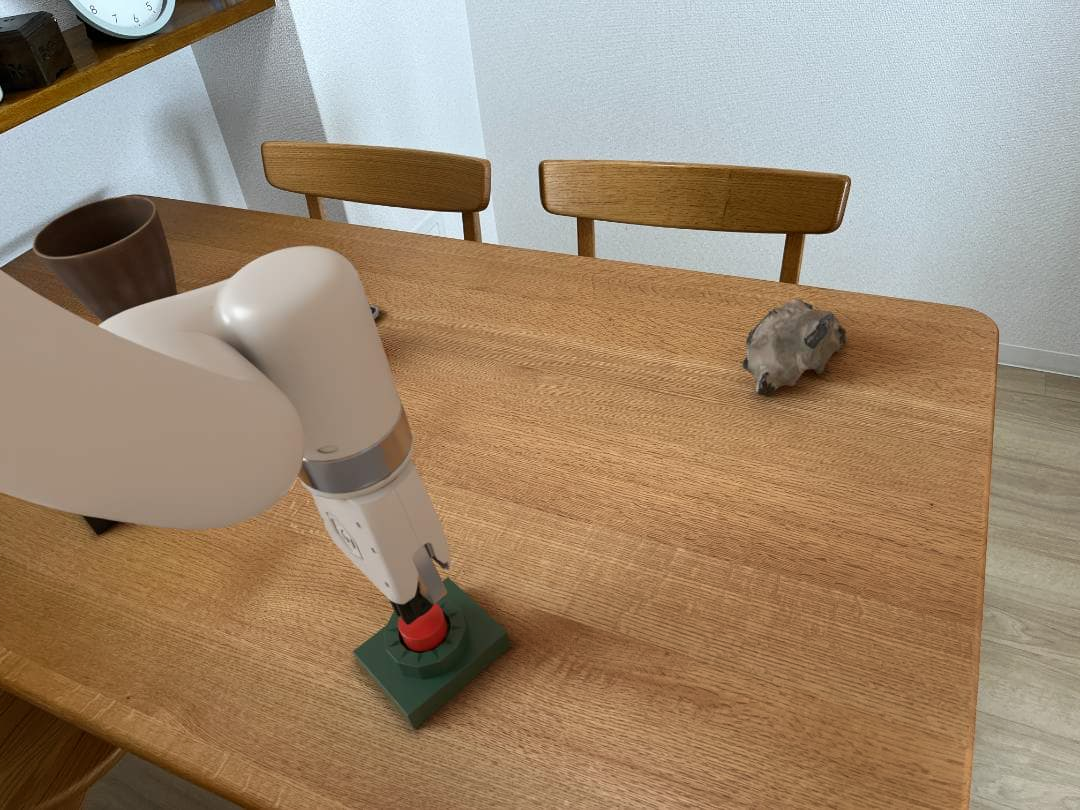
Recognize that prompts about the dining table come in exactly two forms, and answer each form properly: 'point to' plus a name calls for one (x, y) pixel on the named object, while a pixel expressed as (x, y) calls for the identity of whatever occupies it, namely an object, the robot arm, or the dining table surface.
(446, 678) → the block
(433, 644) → the button
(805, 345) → the decorative stone
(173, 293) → the flower pot
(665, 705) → the dining table surface
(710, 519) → the dining table surface
